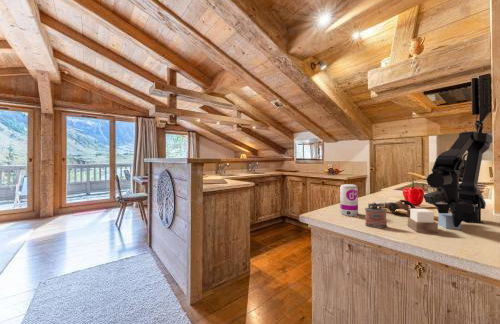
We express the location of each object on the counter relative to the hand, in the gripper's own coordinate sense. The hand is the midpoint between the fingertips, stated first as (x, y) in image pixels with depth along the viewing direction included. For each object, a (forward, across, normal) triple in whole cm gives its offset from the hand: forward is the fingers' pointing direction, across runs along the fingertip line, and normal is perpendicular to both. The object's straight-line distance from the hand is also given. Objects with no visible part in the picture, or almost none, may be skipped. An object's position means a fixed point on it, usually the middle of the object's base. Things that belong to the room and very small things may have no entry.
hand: (449, 223), depth 90 cm
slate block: (+1, 0, 0) cm, 1 cm away
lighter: (+2, +3, -28) cm, 28 cm away
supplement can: (+2, -15, -35) cm, 38 cm away
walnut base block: (+2, +5, -12) cm, 13 cm away
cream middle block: (-2, +5, -12) cm, 13 cm away
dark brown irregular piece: (+2, -18, -11) cm, 21 cm away
